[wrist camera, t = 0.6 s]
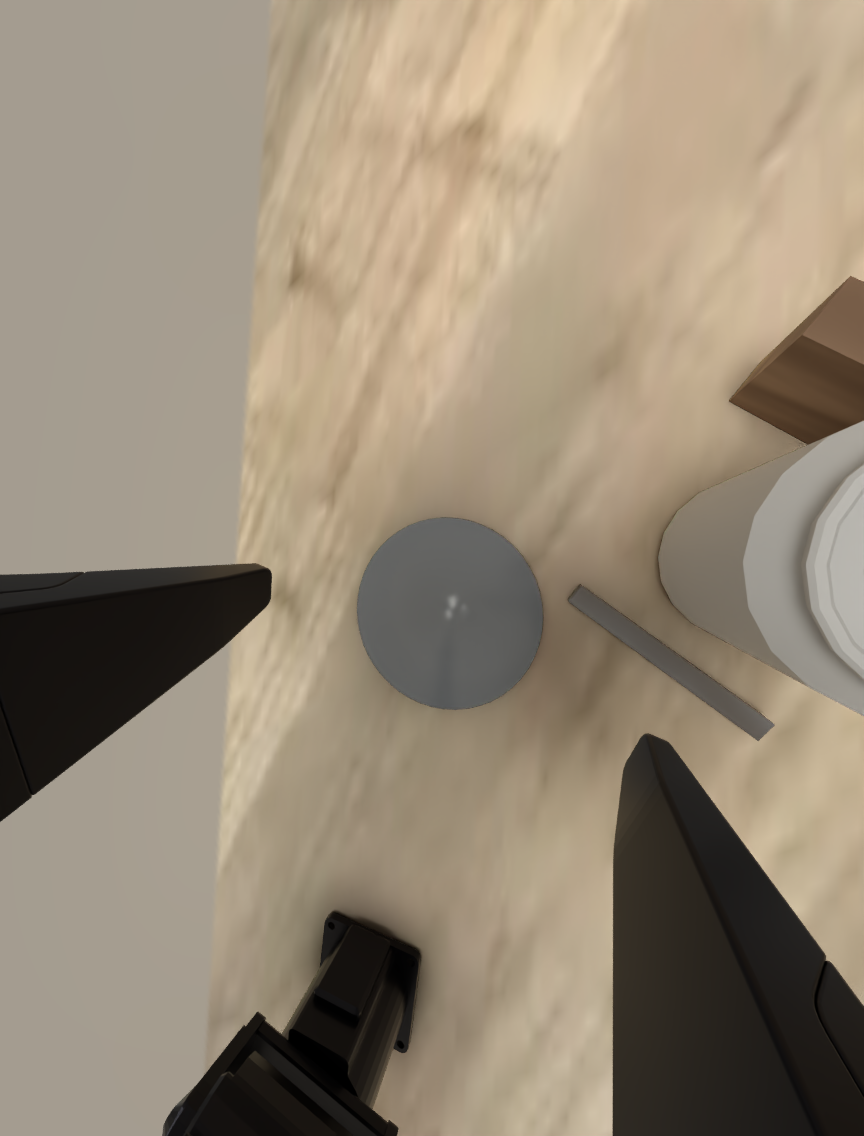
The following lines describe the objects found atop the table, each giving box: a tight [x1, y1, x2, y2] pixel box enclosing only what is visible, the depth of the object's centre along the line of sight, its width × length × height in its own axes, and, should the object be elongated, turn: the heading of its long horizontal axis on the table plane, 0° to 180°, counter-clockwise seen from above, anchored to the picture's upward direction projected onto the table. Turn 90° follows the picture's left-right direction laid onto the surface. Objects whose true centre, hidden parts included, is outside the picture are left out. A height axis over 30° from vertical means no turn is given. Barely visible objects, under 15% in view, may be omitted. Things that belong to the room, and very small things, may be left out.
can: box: [658, 421, 864, 716], centre depth 13 cm, size 8×8×12 cm
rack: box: [568, 276, 864, 741], centre depth 16 cm, size 14×10×6 cm
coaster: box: [357, 518, 543, 710], centre depth 23 cm, size 11×11×1 cm
